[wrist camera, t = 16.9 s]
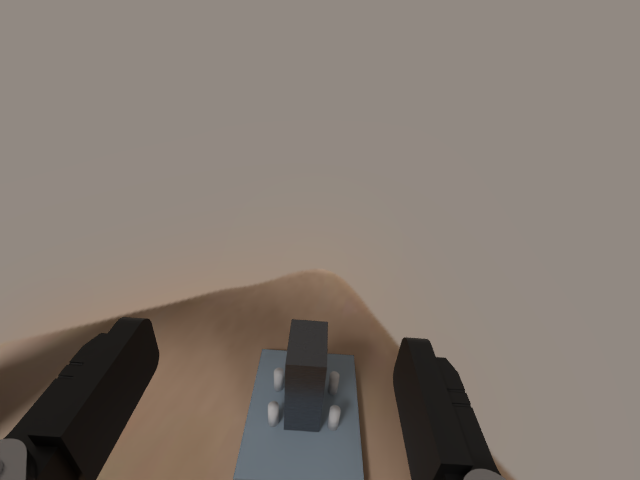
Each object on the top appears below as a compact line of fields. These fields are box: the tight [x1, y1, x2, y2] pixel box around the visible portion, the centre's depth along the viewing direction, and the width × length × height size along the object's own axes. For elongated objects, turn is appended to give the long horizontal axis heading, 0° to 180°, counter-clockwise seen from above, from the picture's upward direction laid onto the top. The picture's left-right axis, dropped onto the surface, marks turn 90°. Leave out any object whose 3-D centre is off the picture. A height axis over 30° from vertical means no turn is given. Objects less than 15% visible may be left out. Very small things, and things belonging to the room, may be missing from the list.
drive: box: [284, 319, 328, 432], centre depth 36 cm, size 4×6×11 cm, turn 178°
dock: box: [233, 349, 364, 480], centre depth 38 cm, size 13×16×4 cm
